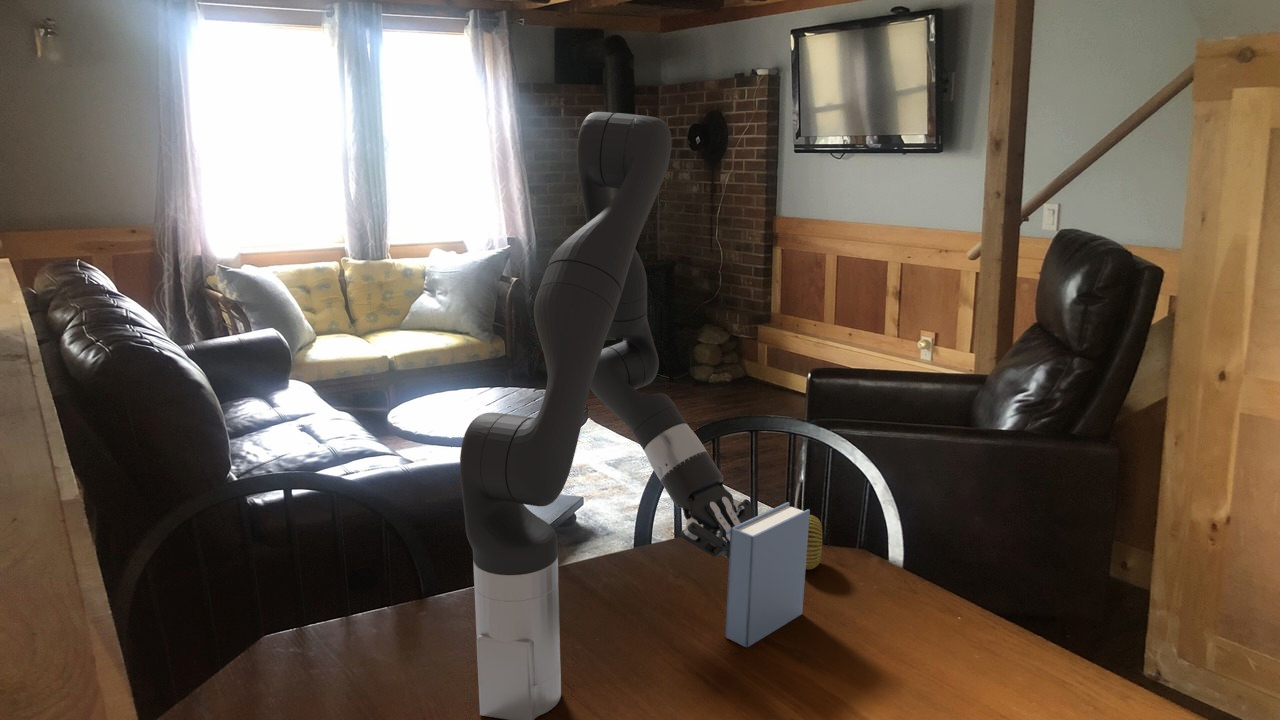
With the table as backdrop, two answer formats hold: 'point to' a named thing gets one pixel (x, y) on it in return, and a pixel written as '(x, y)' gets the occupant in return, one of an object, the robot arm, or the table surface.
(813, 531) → the sculpture
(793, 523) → the book
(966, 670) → the table surface
